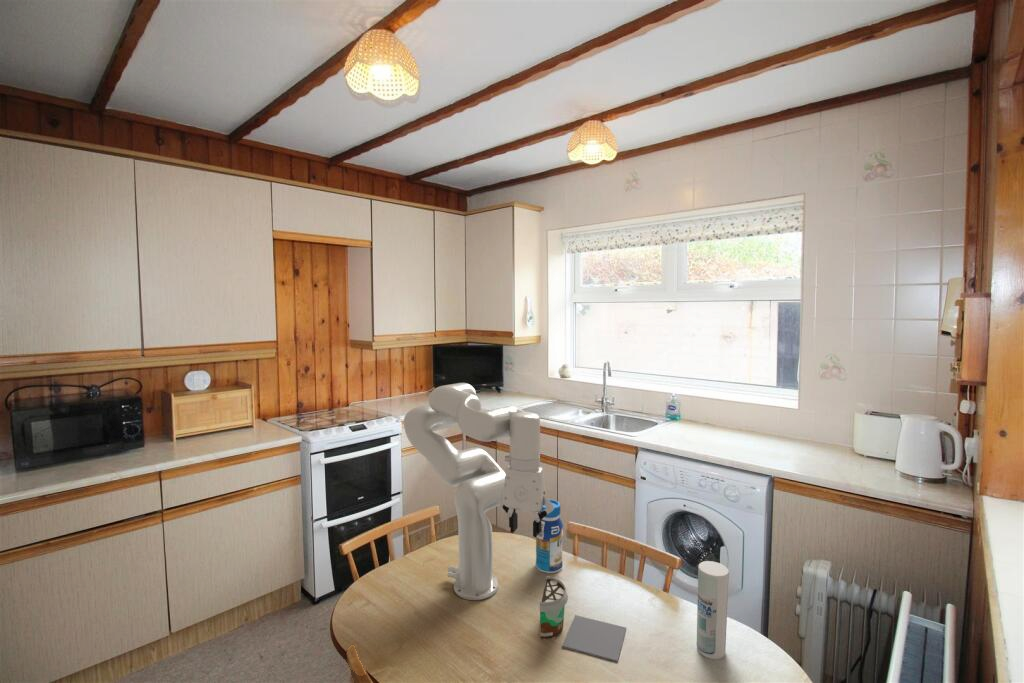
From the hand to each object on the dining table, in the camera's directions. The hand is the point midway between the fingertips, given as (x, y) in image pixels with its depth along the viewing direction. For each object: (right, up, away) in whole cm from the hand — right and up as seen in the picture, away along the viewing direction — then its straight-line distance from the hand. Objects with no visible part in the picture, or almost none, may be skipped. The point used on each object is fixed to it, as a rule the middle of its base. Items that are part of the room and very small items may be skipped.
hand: (525, 531), depth 124 cm
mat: (+17, -24, -5) cm, 30 cm away
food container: (+7, -24, -1) cm, 25 cm away
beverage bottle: (+8, -21, +27) cm, 35 cm away
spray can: (+43, -24, -9) cm, 50 cm away
